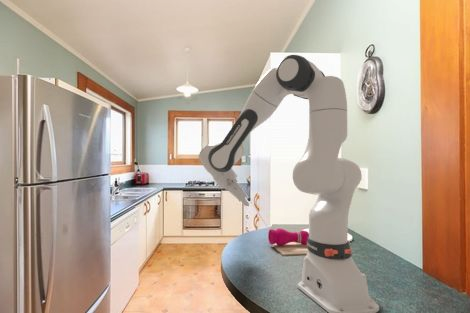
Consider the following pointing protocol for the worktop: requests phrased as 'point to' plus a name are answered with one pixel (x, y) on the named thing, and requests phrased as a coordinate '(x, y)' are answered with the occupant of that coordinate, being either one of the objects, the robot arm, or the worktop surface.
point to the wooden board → (291, 249)
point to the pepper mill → (287, 237)
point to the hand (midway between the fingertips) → (247, 204)
